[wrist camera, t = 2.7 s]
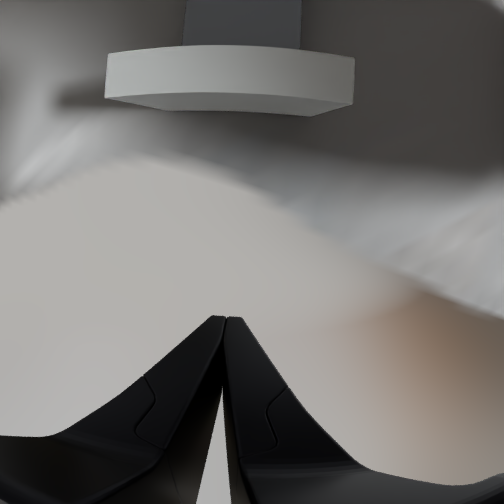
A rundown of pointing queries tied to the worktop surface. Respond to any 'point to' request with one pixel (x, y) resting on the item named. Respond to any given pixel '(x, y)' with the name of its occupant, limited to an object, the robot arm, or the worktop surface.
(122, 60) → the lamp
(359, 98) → the worktop surface
